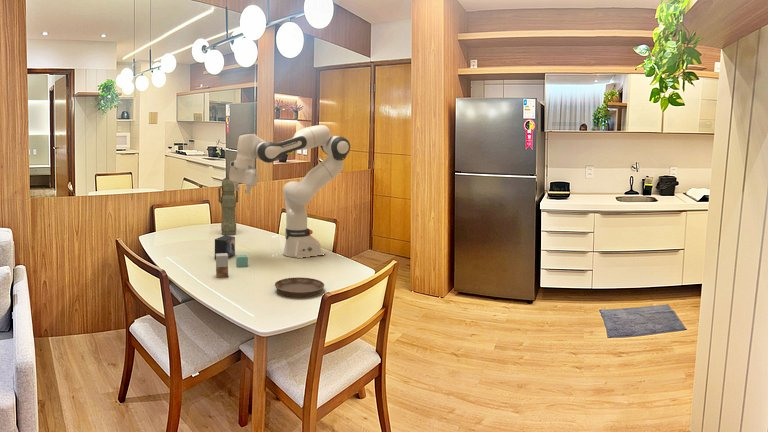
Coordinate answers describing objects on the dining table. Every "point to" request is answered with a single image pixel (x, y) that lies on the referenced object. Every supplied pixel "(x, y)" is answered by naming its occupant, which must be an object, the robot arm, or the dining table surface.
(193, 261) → the dining table surface
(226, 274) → the walnut base block
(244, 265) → the teal cube
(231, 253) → the small box
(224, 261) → the grey mid block
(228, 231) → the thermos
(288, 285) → the plant saucer
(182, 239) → the dining table surface
